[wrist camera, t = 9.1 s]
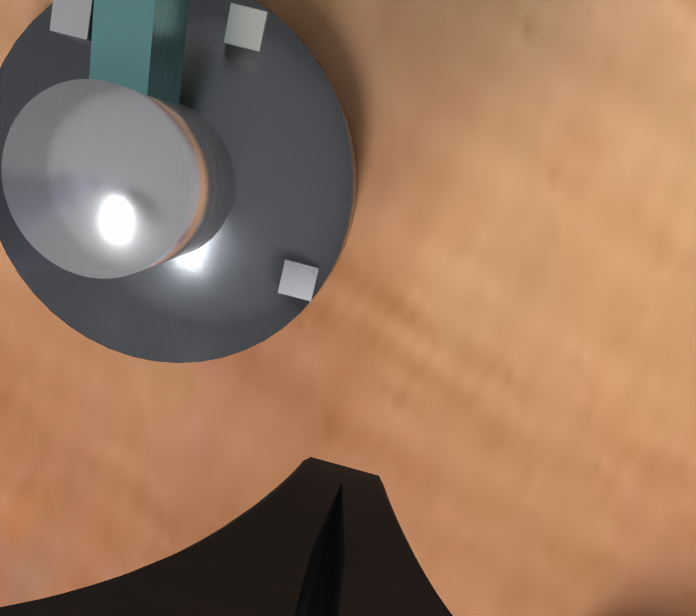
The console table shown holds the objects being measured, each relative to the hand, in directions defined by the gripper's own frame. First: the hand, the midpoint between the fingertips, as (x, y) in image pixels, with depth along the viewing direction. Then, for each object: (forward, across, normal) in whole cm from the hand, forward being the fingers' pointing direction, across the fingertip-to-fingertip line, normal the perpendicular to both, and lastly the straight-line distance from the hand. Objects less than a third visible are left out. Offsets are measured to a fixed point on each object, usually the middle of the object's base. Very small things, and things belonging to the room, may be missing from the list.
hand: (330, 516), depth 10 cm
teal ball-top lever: (+8, +7, -7) cm, 13 cm away
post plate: (+9, +7, -4) cm, 12 cm away
